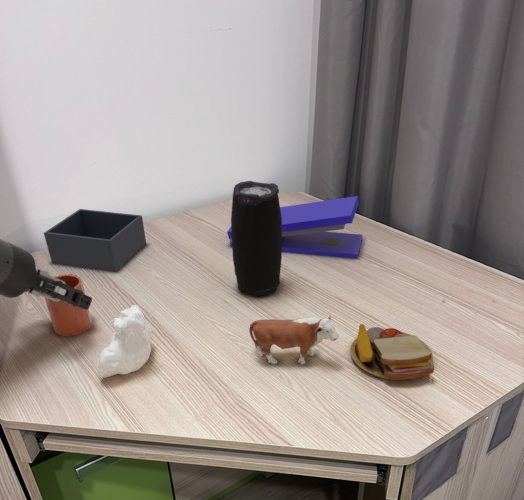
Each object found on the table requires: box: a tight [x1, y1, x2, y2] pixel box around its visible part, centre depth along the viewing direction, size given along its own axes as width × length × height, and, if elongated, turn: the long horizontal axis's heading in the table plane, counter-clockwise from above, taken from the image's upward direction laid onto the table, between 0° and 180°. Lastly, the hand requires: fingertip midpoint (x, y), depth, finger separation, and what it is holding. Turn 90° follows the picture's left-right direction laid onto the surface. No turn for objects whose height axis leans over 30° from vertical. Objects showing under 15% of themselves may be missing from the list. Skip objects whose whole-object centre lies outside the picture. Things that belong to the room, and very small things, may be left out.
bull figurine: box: [248, 315, 340, 365], centre depth 82 cm, size 4×13×8 cm, turn 81°
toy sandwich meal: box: [349, 323, 435, 381], centre depth 82 cm, size 12×14×5 cm
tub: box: [43, 208, 147, 273], centre depth 113 cm, size 15×13×7 cm
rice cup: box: [43, 273, 93, 337], centre depth 91 cm, size 6×6×8 cm
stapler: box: [226, 195, 363, 260], centre depth 115 cm, size 12×28×10 cm, turn 76°
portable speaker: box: [230, 180, 283, 298], centre depth 97 cm, size 9×9×20 cm
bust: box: [96, 304, 153, 378], centre depth 81 cm, size 12×8×11 cm
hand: (74, 298), depth 91 cm, fingers closed on rice cup, 6 cm apart
